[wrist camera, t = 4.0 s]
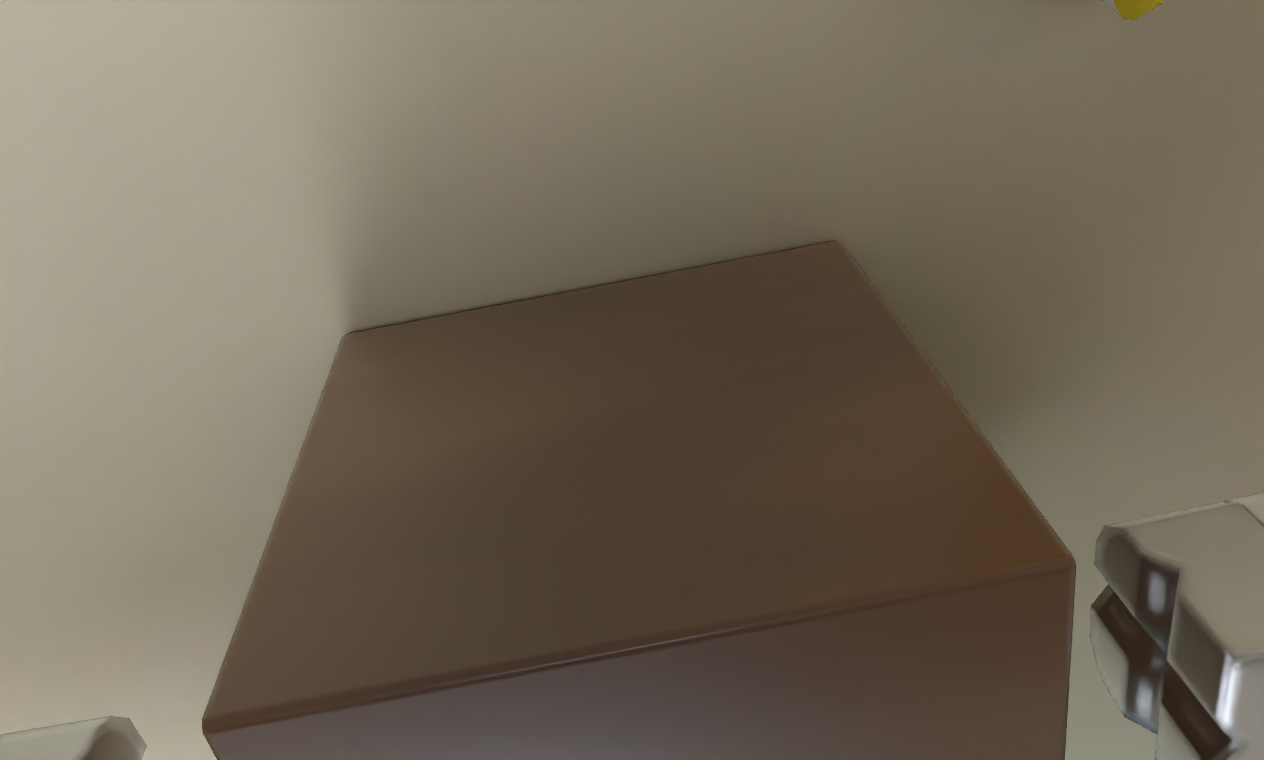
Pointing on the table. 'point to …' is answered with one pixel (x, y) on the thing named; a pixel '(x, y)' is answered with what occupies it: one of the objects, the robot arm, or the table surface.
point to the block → (652, 542)
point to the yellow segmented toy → (1132, 7)
